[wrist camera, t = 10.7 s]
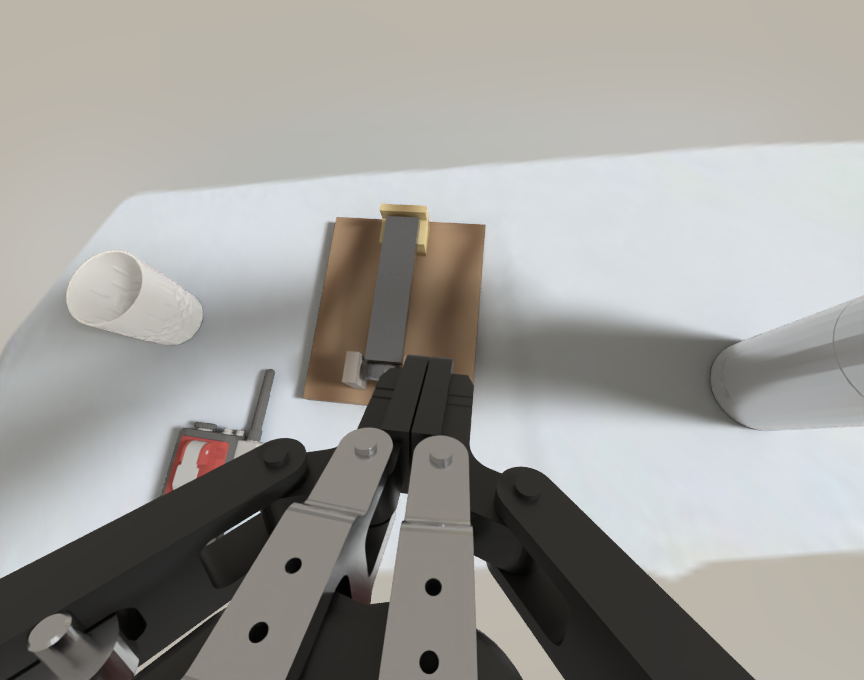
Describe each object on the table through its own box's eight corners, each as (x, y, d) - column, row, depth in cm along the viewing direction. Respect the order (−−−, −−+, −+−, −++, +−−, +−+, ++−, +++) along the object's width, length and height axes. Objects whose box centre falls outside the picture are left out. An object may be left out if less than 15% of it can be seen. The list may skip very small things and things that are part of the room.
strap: (420, 225, 44) (418, 216, 42) (400, 384, 39) (397, 381, 37) (388, 223, 44) (385, 214, 42) (365, 380, 40) (360, 377, 38)
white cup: (159, 284, 49) (84, 245, 39) (217, 293, 48) (155, 254, 38) (136, 345, 47) (52, 319, 37) (196, 355, 46) (126, 331, 36)
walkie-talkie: (239, 564, 40) (285, 372, 45) (212, 578, 36) (267, 364, 41) (160, 548, 41) (214, 362, 46) (125, 560, 37) (189, 354, 42)
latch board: (484, 231, 47) (488, 199, 41) (470, 415, 42) (471, 410, 36) (340, 223, 49) (322, 191, 43) (308, 399, 44) (282, 391, 37)
